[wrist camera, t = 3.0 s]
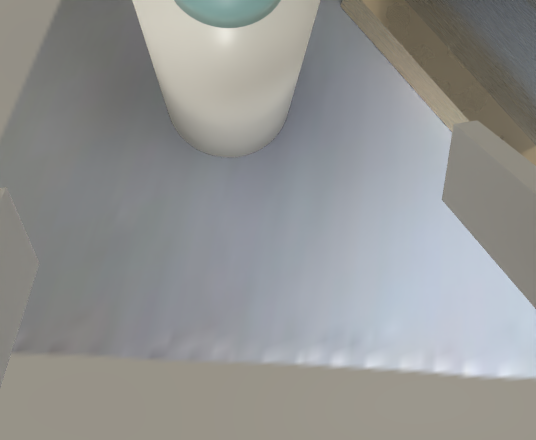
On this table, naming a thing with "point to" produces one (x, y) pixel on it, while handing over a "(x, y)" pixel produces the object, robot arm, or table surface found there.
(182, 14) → the cream bottle
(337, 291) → the table surface
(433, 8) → the grey open box
